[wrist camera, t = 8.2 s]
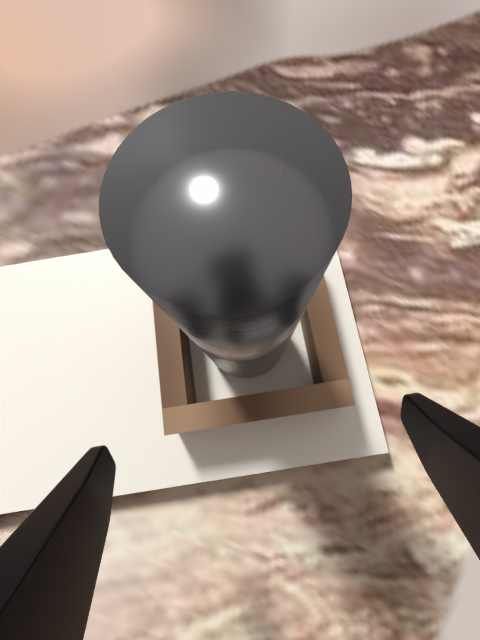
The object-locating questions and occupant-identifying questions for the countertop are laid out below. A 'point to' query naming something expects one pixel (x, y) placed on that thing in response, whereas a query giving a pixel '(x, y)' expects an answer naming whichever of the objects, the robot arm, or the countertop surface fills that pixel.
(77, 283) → the board
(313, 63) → the countertop surface
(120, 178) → the grey tall rounded cylinder
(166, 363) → the square wooden frame
